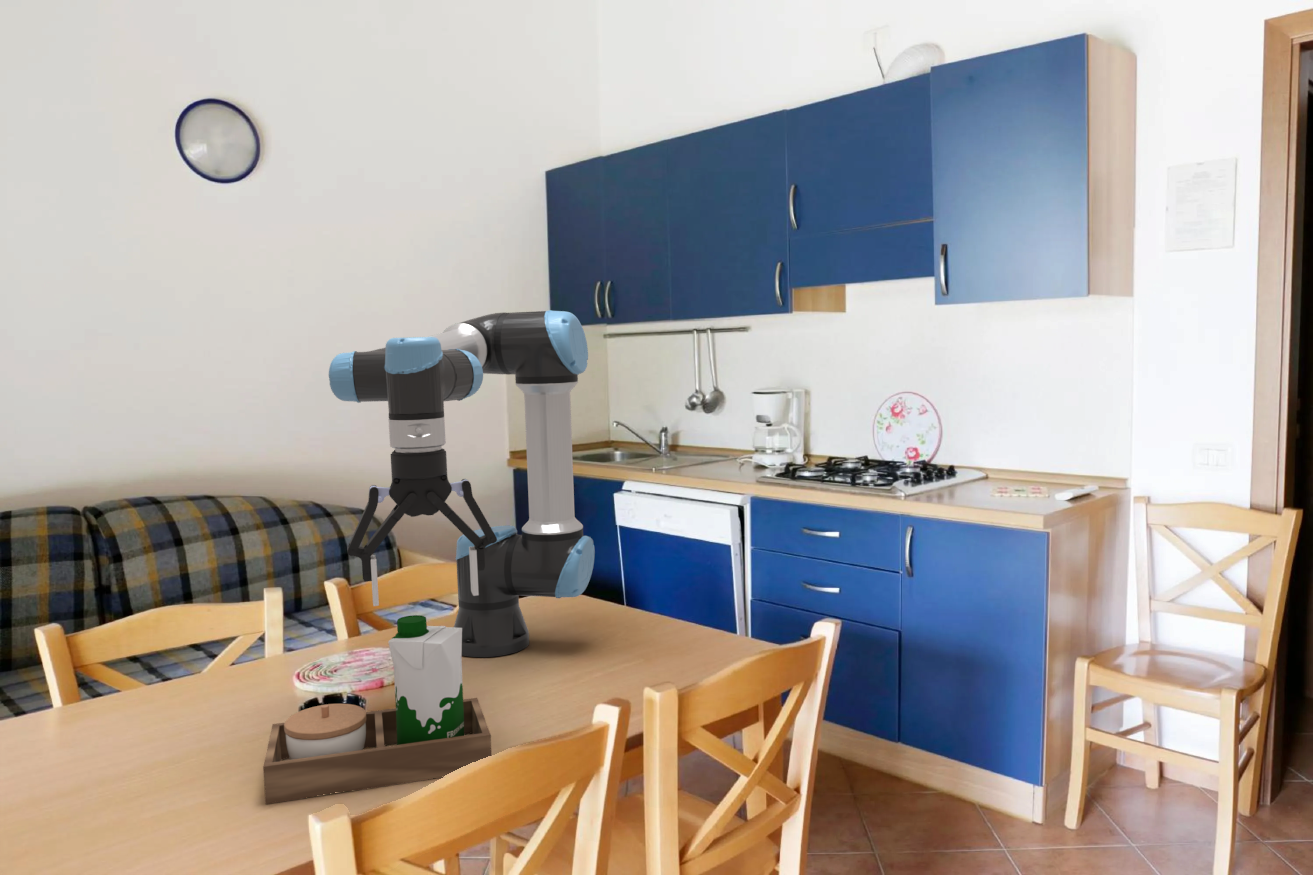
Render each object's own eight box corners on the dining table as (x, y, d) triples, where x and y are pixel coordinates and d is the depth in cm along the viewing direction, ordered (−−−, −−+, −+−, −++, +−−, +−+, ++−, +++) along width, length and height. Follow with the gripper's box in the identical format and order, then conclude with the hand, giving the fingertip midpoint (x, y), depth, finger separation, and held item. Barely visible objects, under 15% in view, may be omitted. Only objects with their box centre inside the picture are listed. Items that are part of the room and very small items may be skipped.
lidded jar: (299, 757, 137) (296, 693, 136) (376, 753, 138) (372, 690, 137) (276, 791, 126) (272, 722, 126) (359, 786, 127) (355, 718, 126)
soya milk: (416, 741, 142) (410, 609, 140) (473, 745, 140) (468, 612, 138) (388, 767, 133) (381, 627, 131) (449, 771, 131) (442, 629, 129)
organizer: (274, 757, 137) (272, 723, 137) (478, 729, 146) (477, 697, 145) (265, 804, 123) (263, 766, 122) (492, 769, 131) (490, 734, 131)
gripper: (322, 457, 125) (332, 615, 127) (512, 446, 133) (518, 595, 135) (324, 451, 132) (333, 600, 134) (504, 441, 140) (510, 582, 142)
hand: (426, 598), depth 135 cm, fingers open, 13 cm apart
